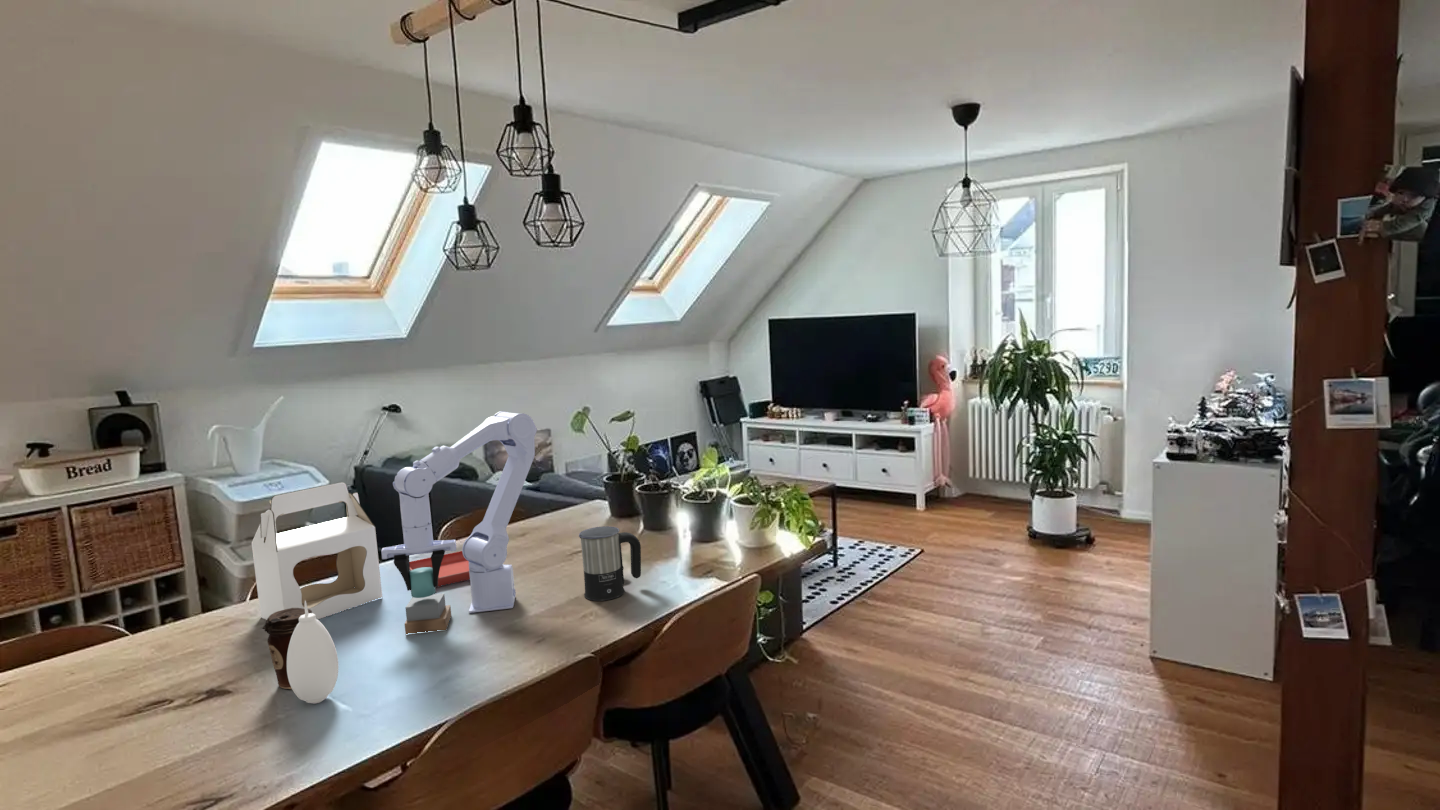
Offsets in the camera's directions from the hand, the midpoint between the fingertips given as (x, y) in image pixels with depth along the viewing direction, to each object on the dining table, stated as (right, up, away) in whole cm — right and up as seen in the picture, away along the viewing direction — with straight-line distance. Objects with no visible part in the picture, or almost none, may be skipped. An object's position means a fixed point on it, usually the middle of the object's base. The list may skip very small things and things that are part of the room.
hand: (423, 587), depth 167 cm
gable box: (-29, -8, +15) cm, 33 cm away
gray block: (0, -6, +1) cm, 6 cm away
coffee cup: (-14, -12, -23) cm, 30 cm away
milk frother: (+36, -5, +19) cm, 40 cm away
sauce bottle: (-7, -13, -31) cm, 34 cm away
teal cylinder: (0, -1, 0) cm, 1 cm away
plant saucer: (-6, -5, +34) cm, 35 cm away
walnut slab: (+1, -9, +1) cm, 9 cm away
